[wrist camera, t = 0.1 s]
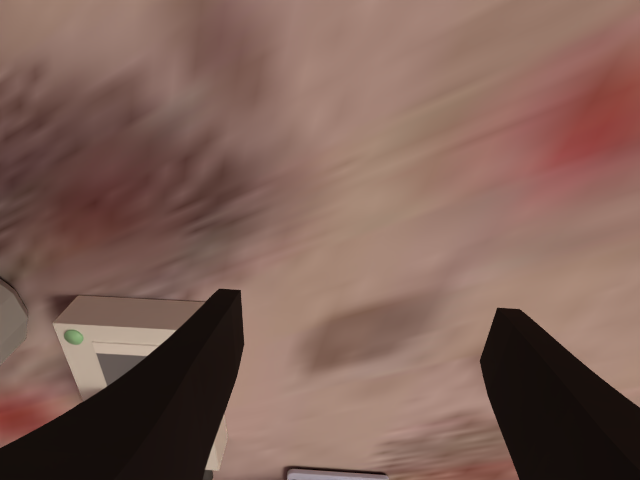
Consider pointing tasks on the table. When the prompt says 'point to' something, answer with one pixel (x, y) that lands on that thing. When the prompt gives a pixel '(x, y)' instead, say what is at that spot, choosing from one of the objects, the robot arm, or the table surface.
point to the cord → (208, 475)
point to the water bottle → (11, 321)
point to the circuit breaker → (121, 342)
